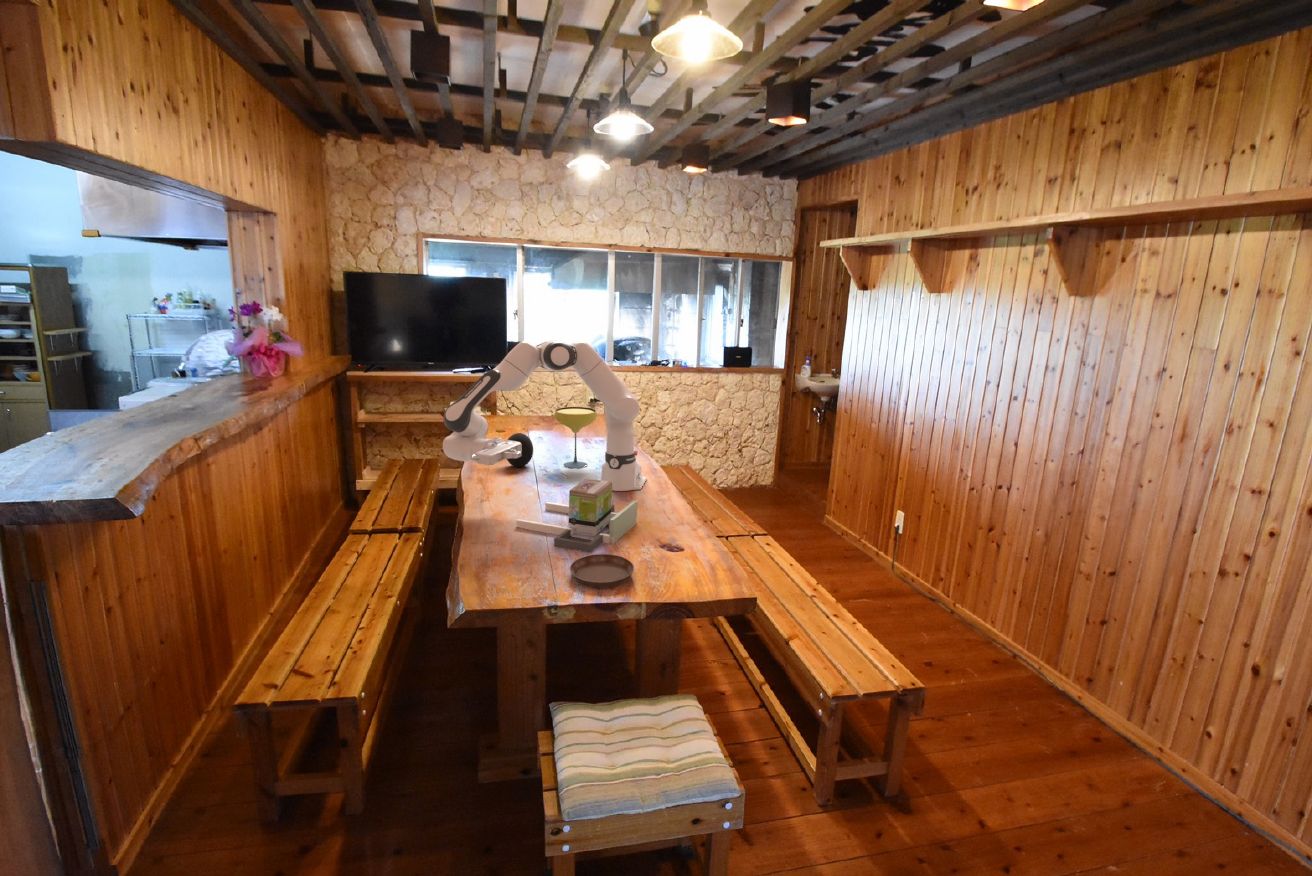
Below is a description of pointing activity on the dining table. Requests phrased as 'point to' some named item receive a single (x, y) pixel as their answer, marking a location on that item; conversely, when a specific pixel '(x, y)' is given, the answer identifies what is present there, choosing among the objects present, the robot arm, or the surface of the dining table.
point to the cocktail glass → (575, 425)
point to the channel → (617, 529)
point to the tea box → (590, 507)
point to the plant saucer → (602, 570)
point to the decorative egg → (526, 450)
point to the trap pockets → (578, 540)
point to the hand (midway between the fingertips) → (519, 455)
